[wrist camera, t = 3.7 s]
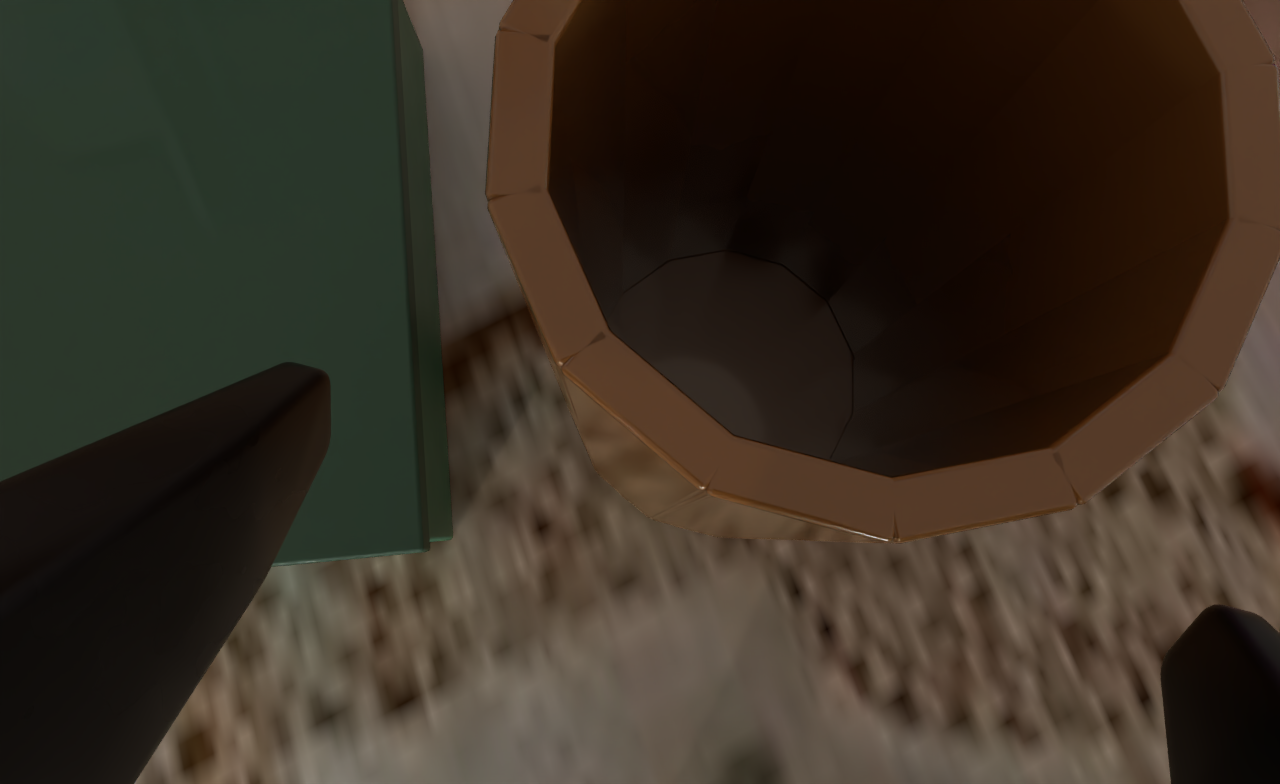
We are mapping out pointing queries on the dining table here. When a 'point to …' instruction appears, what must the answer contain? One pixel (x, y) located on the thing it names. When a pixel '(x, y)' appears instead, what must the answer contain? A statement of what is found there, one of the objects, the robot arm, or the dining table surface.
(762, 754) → the dining table surface
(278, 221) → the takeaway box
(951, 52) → the brown hollow cylinder
